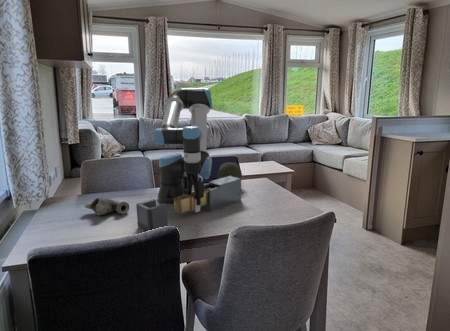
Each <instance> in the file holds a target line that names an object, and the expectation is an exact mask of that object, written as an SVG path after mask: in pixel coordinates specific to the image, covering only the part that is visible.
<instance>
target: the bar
mask: <svg viewBox="0 0 450 331" xmlns="http://www.w3.org/2000/svg"><path fill="white" fill-rule="evenodd" d="M213 188H216V186H212V187H209V188H206V189H204V197H203V198H201V205H200V206H203V205H206V204H209V190H210V189H213ZM194 198H196V197H195V192H194V191H192V193H189V194H185V193H184V194H183V195H182V196H179V197H175V198H174V203H173V211H175V212H176V213H178V214H182V213H185V212H188V211H195V204H194Z"/></svg>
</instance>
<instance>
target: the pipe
mask: <svg viewBox="0 0 450 331" xmlns="http://www.w3.org/2000/svg"><path fill="white" fill-rule="evenodd" d="M84 208H85V209H89V210H92V211H93V212H94V213H95V214H96V215H97V216H104V215H108V214H110V212H111V213H113V212H116V213H117V214H118V215H125V214H124V213H126V214H127V213H128V212H129V211H130V205H129V203H128V202H126V201H119V200H113V199H110V198H106V197H101V196H100V197H99V196H98V197H96V198H95V199H94V200H92V201H91V202H90V203H86V204H84ZM107 213H108V214H107ZM98 214H99V215H98Z"/></svg>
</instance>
